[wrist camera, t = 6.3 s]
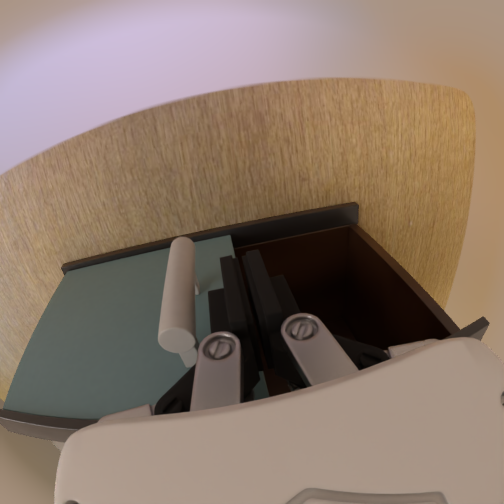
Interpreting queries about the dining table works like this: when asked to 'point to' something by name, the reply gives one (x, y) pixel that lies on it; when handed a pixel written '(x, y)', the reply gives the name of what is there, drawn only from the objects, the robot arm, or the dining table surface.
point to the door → (121, 333)
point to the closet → (306, 291)
